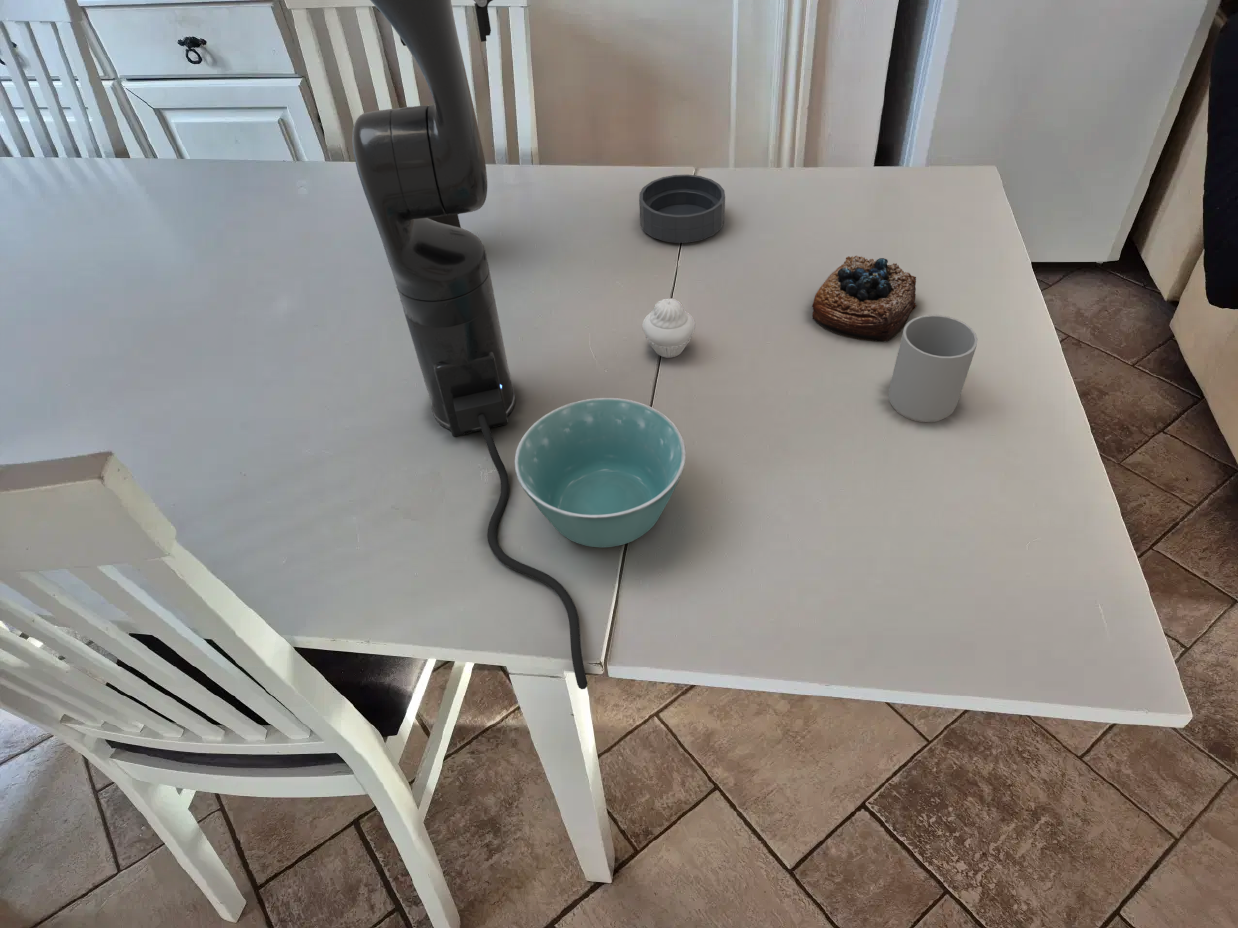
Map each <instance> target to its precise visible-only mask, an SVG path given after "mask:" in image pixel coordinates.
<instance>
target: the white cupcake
mask: <svg viewBox="0 0 1238 928" xmlns="http://www.w3.org/2000/svg"><path fill="white" fill-rule="evenodd" d="M695 330H696V321H695V319H694V317H693V316H692V314H691V313H689V312H688V311H686V309H685V307H684V305H683V304H682V302H680V301H679V300H678V299H675V298H668V297H666V298H665V299H664V298H662V299H661V300H658V301H657V302H656V303H655V304H654V307H653V308H652V310H651V311H650V312H649V313H648V314H647V315H646V316H645V317H644V319H643V321H642V331H643V333H644V336H645V338H646V341H647V342H648V344H649V345H650V346H651V347H652V350H654V352H655V353H656V354H657V355H658V356H660V358H661V357H662V358H665V359H666V358H667V359H670V358H676V357H677V356H679V355H681V354H682V353H683V351H684V350H685V348H686V347H687V345H688V344H689V343H690V341H691V340H692V338H693V335H694V333H695Z"/></svg>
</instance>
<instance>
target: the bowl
mask: <svg viewBox="0 0 1238 928" xmlns="http://www.w3.org/2000/svg"><path fill="white" fill-rule="evenodd" d="M686 452H687V450H686V444H685V441H684V438H683V436H682V434H681V431H680V430H679V429H678V427H677V426H676V424H675V423H674V422H673V421H672V420H671V419H670V418H669V417H668V416H666V415H665V414H664V413H663V412H661V411H659V410H658V409H656V408H654V407H652V406H650V405H648V404H645V403H642V402H639V401H635V400H631V399H627V398H617V397H596V398H595V397H594V398H587V399H582V400H581V399H580V400H578V401H574V402H570V403H567V404H565V405H562V406H560V407H557V408H555V409H553V410H551V411H550V412H548V413H546V414H544V415H543V416H542V417H541V418H539V419H538V420H537V421H535V422H534V423H533V424H532V425H531V426H530V427H529V428H528V429H527V430H526V432H525V433H524V435H523V436H522V438H521V439H520V441H519V443H518V445H517V447H516V450H515V455H514V456H515V457H514V471H515V475H516V478H517V481H518V483H519V485H520V486H521V487H522V490H523V491H524V492H525V494H526V495H527V496H528V497H529V498H530V500H531V501H532V502H533V504H534V505H535V506H536V507H537V508H538V510H539V511H540V512H541V513H542V515H543V516H544V517H545V518H546V519H547V520H548V522H549V523H550V524H551V525H552V526H553V527H554V528H555V529H556V531H557V532H559V533H560V534H561V535H562V536H563V537H565V538H566V539H567V540H570V541H571V542H574V543H576V544H578V545H582V546H585V547H590V548H613V547H618V546H622V545H626V544H628V543H629V544H630V543H631V542H633V541H636V540H637V539H640V538H641V537H642V536H644V535H645V534H647V532H649V531H650V530H651V529H652V528H653V527H654V526H655V524H657V522H658V521H659V519H660V517H661V515H662V513H663V511H664V510H665V508H666V506H667V504H668V502H669V501H670V499H671V497H672V495H673V493H674V491H675V489H676V486H678V483H679V480H680V478H681V476H682V474H683V471H684V468H685V465H686V459H687V453H686Z"/></svg>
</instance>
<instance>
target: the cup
mask: <svg viewBox="0 0 1238 928" xmlns="http://www.w3.org/2000/svg"><path fill="white" fill-rule="evenodd" d="M978 339H979V338H978V337H977V333H976V332H975V330H973V328H972V327H971V326H970V325H968V324H967V323H965V322H963V321H961V320H959V319H957V318H955V317H951V316H949V315H948V316H947V315H942V314H926V315H925V314H924V315H920V316H916V317H914V318H912V319H910V320H908V321H907V322H906V324H905V326H904V327H903V329H902V335H901V338H900V342H899V347H898V350H897V351H898V352H897V355H896V360H895V362H894V367H893V371H892V375H891V379H890V383H889V388H888V393H887V397H888V401H889V403H890V404H891V407H892V408H893V409H894V410H895V411H896V412H897V413H898V414H899V415H901V416H903V417H904V418H906V419H909V420H911V421H915V422H921V423H933V422H939V421H941V420H944V419H946V418H947V417H949V416H950V415H952V414H953V413H954V411H955V410H956V408H957V405H958V403H959V400H960V397H961V394H962V392H963V388H964V385H965V382H966V379H967V377H968V373H969V371H970V368H971V364H972V362H973V358H974V355H975V352H976V349H977V347H978V341H979V340H978Z"/></svg>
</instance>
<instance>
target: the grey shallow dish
mask: <svg viewBox="0 0 1238 928" xmlns="http://www.w3.org/2000/svg"><path fill="white" fill-rule="evenodd" d="M638 202H639V226H640V228H641V229H642V230H643V232H644V233H645V234H647V235H648V236H649V237H651V238H654V239H657V240H659V241H663V242H667V243H673V244H674V243H675V244H684V243H685V244H686V243H687V244H688V243H694V242H698V241H702V240H705V239H708V238H710V237H713V236H715V234H717V233H718V232H719V231H720V230H721V229H722V228H723V226H724V224H725V214H726V213H725V212H726V211H725V209H726V192H725V189H724V187H723V186H722V185H721V184H720V183H718V182H716V181H715V180H713V179H711V178H708V177H705V176H702V175H696V174H695V175H694V174H673V175H667V176H663V177H659V178H657V179H654V180H652V181H649V182H648V183H647V184H646V185H644V186H643V187H642V189H641V190H640V192H639V196H638Z"/></svg>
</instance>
